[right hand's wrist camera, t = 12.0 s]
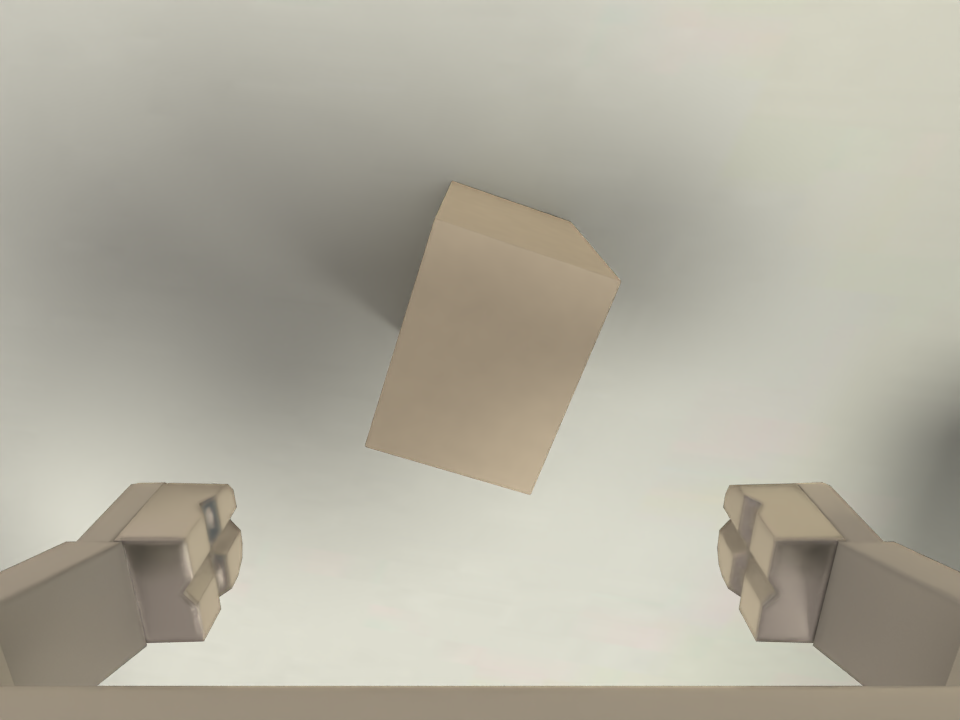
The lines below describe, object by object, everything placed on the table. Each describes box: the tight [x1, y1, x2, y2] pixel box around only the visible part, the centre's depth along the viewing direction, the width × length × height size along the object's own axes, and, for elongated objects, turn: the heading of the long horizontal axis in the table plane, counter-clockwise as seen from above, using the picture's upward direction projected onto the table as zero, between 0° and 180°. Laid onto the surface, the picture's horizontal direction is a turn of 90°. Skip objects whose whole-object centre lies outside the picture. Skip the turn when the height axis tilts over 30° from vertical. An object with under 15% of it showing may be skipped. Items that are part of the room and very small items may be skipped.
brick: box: [365, 181, 621, 495], centre depth 22 cm, size 5×7×10 cm
